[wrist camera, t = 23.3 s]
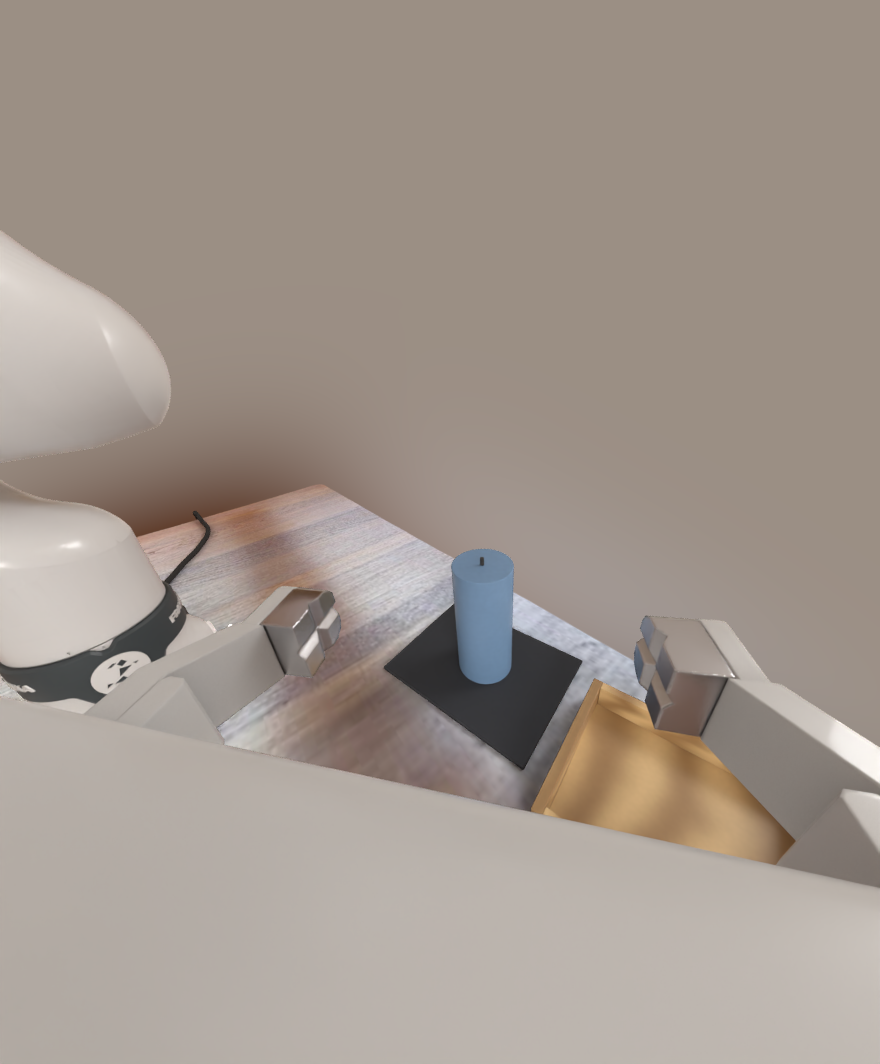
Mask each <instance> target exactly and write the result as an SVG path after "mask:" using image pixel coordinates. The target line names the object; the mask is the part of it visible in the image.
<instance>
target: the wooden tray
mask: <svg viewBox="0 0 880 1064" xmlns="http://www.w3.org/2000/svg"><path fill="white" fill-rule="evenodd" d="M700 738H701V737H697V736H691V735H685V734H680V733H674V732H668V731H662V730H657V729H654V726H653V723H652V720H651V717H650V714H649V711H648V709H647V706H646V703H644V702H642V701H640V700H638V699H636V698H634V697H632V696H630V695H628V694H626V693H624V692H621V691H619V690H617V689H615V688H613V687H611V686H609V685H607V684H605V683H603V682H601V681H599V680H597V679H595V678H594V680H593V682H592V684H591V686H590V688H589V690H588V692H587V694H586V696H585V698H584V700H583V702H582V705H581V707H580V709H579V711H578V713H577V715H576V717H575V719H574V721H573V723H572V725H571V727H570V729H569V731H568V733H567V735H566V737H565V739H564V741H563V744H562V746H561V748H560V750H559V752H558V754H557V756H556V758H555V760H554V762H553V764H552V766H551V768H550V770H549V772H548V774H547V776H546V778H545V780H544V783H543V785H542V787H541V789H540V791H539V793H538V795H537V797H536V799H535V801H534V803H533V805H532V807H531V812H534V813H538V814H543V815H548V816H552V817H557V818H561V819H566V820H570V821H575V822H580V823H584V824H589V825H593V826H598V827H602V828H607V829H611V830H616V831H621V832H625V833H630V834H634V835H639V836H644V837H648V838H653V839H657V840H662V841H666V842H671V843H676V844H680V845H685V846H689V847H694V848H699V849H703V850H708V851H712V852H717V853H722V854H726V855H731V856H735V857H740V858H745V859H749V860H754V861H758V862H763V863H768V864H772V865H776V864H777V863H778V861H779V860H780V858H781V857H782V856H783V855H784V854H785V853H786V852H787V851H788V849H789V848H790V847H791V846H792V845H793V844H794V843H795V842H796V840H795V839H794V838H793V837H792V836H791V835H790V834H789V833H788V832H787V831H786V830H785V829H784V828H783V827H782V826H781V825H780V823H779V822H778V821H777V820H776V819H775V818H774V817H773V816H772V815H771V814H770V813H769V812H768V811H767V810H766V809H765V808H764V806H763V805H762V804H761V803H760V802H759V801H758V800H757V799H756V798H755V797H754V796H753V795H752V794H751V793H750V792H749V791H748V790H747V788H746V787H745V786H744V785H743V784H742V783H741V782H740V781H739V780H738V779H737V778H736V777H735V776H734V775H733V774H732V773H731V771H730V770H729V769H728V768H727V767H726V766H725V765H724V764H723V763H722V762H721V761H720V760H719V759H718V758H717V757H716V756H715V754H714V753H713V752H712V751H711V750H710V749H709V748H708V747H707V746H706V745H705V744H704V743H703V742H702V741H701V740H700Z"/></svg>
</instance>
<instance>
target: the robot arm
mask: <svg viewBox="0 0 880 1064" xmlns="http://www.w3.org/2000/svg"><path fill="white" fill-rule="evenodd" d="M170 398H171V384H170V377H169V373H168V369H167V366H166V363H165V361H164V359H163V356H162V354H161V352H160V351H159V349H158V347H157V346H156V344H155V342H154V341H153V340H152V338H151V337H150V335H149V334H148V333H147V332H146V330H145V329H144V328H143V327H142V326H141V325H140V324H139V323H138V322H137V321H136V320H135V319H134V318H133V317H132V316H131V315H130V314H129V313H128V312H127V311H126V310H124V309H123V308H122V307H121V306H120V305H118V304H117V303H116V302H114V301H113V300H111V299H110V298H108V297H107V296H106V295H104V294H102V293H101V292H99V291H98V290H96V289H94V288H93V287H90V286H88V285H87V284H85V283H83V282H81V281H79V280H77V279H75V278H73V277H71V276H69V275H68V274H66V273H64V272H62V271H60V270H59V269H57V268H55V267H54V266H52V265H50V264H49V263H47V262H45V261H44V260H42V259H41V258H39V257H38V256H36V255H35V254H33V253H32V252H30V251H29V250H27V249H26V248H24V247H23V246H21V245H20V244H19V243H17V242H16V241H15V240H13V239H12V238H10V237H9V236H8V235H7V234H5V233H4V232H2V231H1V230H0V463H1V462H7V461H14V460H20V459H27V458H33V457H38V456H45V455H52V454H59V453H65V452H71V451H78V450H84V449H91V448H96V447H99V446H102V445H106V444H109V443H112V442H115V441H118V440H121V439H124V438H127V437H130V436H133V435H136V434H139V433H141V432H144V431H147V430H150V429H153V428H155V427H158V426H159V425H160V423H161V422H162V420H163V419H164V417H165V415H166V413H167V410H168V407H169V404H170ZM193 514H194V516H195V518H196V520H199V521H200V523H201V524H202V525H203V526H204V527H205V528H206V533H205V536H204V537H203V539H202V540H201V541H200V543H199V544H198V545H197V547H196V548H195V549H194V550H193V551H192V552H191V553H190V554H189V555H188V556H187V557H186V558H185V559H184V560H183V561H182V562H181V563H180V564H179V565H178V566H177V568H176V569H175V570H174V571H173V572H172V573H171V574H170V575H169V577H168V578H167V579H166V580H165V581H164V582H163V581H161V579H160V577H159V576H158V574H157V572H156V571H155V569H154V567H153V565H152V564H151V562H150V560H149V558H148V557H147V555H146V553H145V552H144V550H143V548H142V546H141V545H140V543H139V541H138V540H137V538H136V536H135V534H134V533H133V531H132V529H131V528H130V526H128V524H126V523H125V522H124V521H123V520H121V519H120V518H118V517H117V516H115V515H113V514H111V513H109V512H107V511H105V510H102V509H100V508H97V507H94V506H90V505H86V504H80V503H73V502H64V501H54V500H48V499H44V498H40V497H36V496H33V495H30V494H27V493H25V492H23V491H20V490H18V489H16V488H14V487H12V486H10V485H8V484H6V483H5V482H3V481H2V480H0V675H1V676H2V680H3V681H4V682H5V683H6V684H7V685H8V686H9V687H10V688H12V689H13V690H15V691H17V692H18V693H19V694H20V695H21V696H22V697H23V698H24V699H26V700H27V702H25V701H21V700H16V699H11V698H7V697H2V696H0V1064H880V748H879V747H878V746H876V745H875V744H873V743H872V742H870V741H869V740H867V739H865V738H864V737H862V736H861V735H859V734H858V733H856V732H855V731H853V730H851V729H850V728H848V727H847V726H845V725H844V724H842V723H840V722H839V721H837V720H836V719H834V718H833V717H831V716H830V715H828V714H826V713H825V712H823V711H822V710H820V709H819V708H817V707H815V706H814V705H812V704H810V703H809V702H808V701H806V700H805V699H803V698H801V697H800V696H798V695H797V694H795V693H794V692H792V691H790V690H789V689H787V688H786V687H784V686H783V685H781V684H776V683H771V682H770V681H769V680H768V678H767V677H766V676H765V674H764V673H763V671H762V670H761V669H760V667H759V666H758V665H757V663H756V662H755V660H754V659H753V658H752V656H751V655H750V654H749V652H748V651H747V650H746V648H745V647H744V646H743V644H742V643H741V641H740V640H739V639H738V637H737V636H736V635H735V633H734V632H733V631H732V629H731V628H730V627H729V626H728V624H727V623H725V622H724V621H721V620H704V619H695V620H694V619H684V618H669V617H657V616H645V618H644V619H643V620H642V624H641V627H640V629H641V632H642V634H643V637H644V638H642V639H641V640H639V641H638V642H637V643H636V647H635V652H634V665H635V671H636V675H637V678H638V682H639V684H640V685H641V686H643V687H644V688H645V689H646V690H647V691H648V692H647V695H646V699H645V703H646V706H647V709H648V711H649V714H650V717H651V720H652V723H653V726H654V729H657V730H662V731H668V732H674V733H680V734H685V735H691V736H697V737H701V738H700V740H701V741H702V742H703V743H704V744H705V745H706V746H707V747H708V748H709V749H710V750H711V751H712V752H713V753H714V754H715V756H716V757H717V758H718V759H719V760H720V761H721V762H722V763H723V764H724V765H725V766H726V767H727V768H728V769H729V770H730V771H731V773H732V774H733V775H734V776H735V777H736V778H737V779H738V780H739V781H740V782H741V783H742V784H743V785H744V786H745V787H746V788H747V790H748V791H749V792H750V793H751V794H752V795H753V796H754V797H755V798H756V799H757V800H758V801H759V802H760V803H761V804H762V805H763V806H764V808H765V809H766V810H767V811H768V812H769V813H770V814H771V815H772V816H773V817H774V818H775V819H776V820H777V821H778V822H779V823H780V825H781V826H782V827H783V828H784V829H785V830H786V831H787V832H788V833H789V834H790V835H791V836H792V837H793V838H794V839H795V840H796V842H795V843H794V844H793V845H792V846H791V847H790V848H789V849H788V851H787V852H786V853H785V854H784V855H783V856H782V857H781V858H780V860H779V861H778V863H777V864H776V865H772V864H768V863H763V862H758V861H754V860H749V859H745V858H740V857H735V856H731V855H726V854H722V853H717V852H712V851H708V850H703V849H699V848H694V847H689V846H685V845H680V844H676V843H671V842H666V841H662V840H657V839H653V838H648V837H644V836H639V835H634V834H630V833H625V832H621V831H616V830H611V829H607V828H602V827H598V826H593V825H589V824H584V823H580V822H575V821H570V820H566V819H561V818H557V817H552V816H548V815H543V814H538V813H534V812H529V811H525V810H520V809H516V808H511V807H506V806H502V805H497V804H493V803H488V802H484V801H479V800H474V799H470V798H465V797H461V796H456V795H452V794H447V793H442V792H438V791H433V790H429V789H424V788H419V787H415V786H410V785H406V784H401V783H396V782H392V781H387V780H383V779H378V778H373V777H369V776H364V775H360V774H355V773H350V772H346V771H341V770H337V769H332V768H327V767H323V766H318V765H314V764H309V763H305V762H300V761H295V760H291V759H286V758H282V757H277V756H272V755H268V754H263V753H259V752H254V751H249V750H245V749H240V748H236V747H231V746H226V745H224V739H223V737H222V736H221V734H220V733H219V731H218V730H217V727H218V726H219V725H221V724H222V723H223V722H225V721H226V720H227V719H229V718H230V717H231V716H233V715H234V714H235V713H237V712H238V711H239V710H241V709H242V708H243V707H245V706H246V705H247V704H249V703H250V702H251V701H253V700H254V699H255V698H257V697H258V696H259V695H261V694H262V693H263V692H265V691H266V690H267V689H269V688H270V687H271V686H273V685H274V684H275V683H277V682H278V681H279V680H281V679H282V678H283V677H285V675H293V676H301V677H310V678H313V676H314V675H315V673H316V672H317V670H318V668H319V667H320V665H321V664H322V662H323V661H324V659H325V653H324V651H326V650H327V649H329V648H330V647H332V646H333V645H334V644H335V642H336V640H337V639H338V636H339V633H340V629H341V620H340V616H339V613H338V612H337V611H336V610H335V609H334V608H333V605H334V603H335V599H334V596H333V593H332V592H330V591H328V590H321V589H312V588H302V587H290V586H282V587H279V588H277V589H276V590H275V591H274V592H273V593H272V594H271V595H270V596H269V597H268V598H267V599H266V600H265V601H264V602H263V603H262V604H261V605H260V606H259V607H258V608H257V609H256V610H255V611H254V612H253V613H251V614H250V615H249V616H248V617H247V618H246V619H245V620H244V621H243V622H242V623H235V624H233V625H229V626H228V627H226V628H224V629H222V630H220V631H218V632H217V631H216V630H215V628H214V626H213V625H212V623H211V622H210V621H204V620H203V619H201V618H199V617H196V616H193V615H189V614H188V612H187V610H186V608H185V607H184V606H182V603H181V600H180V598H179V596H178V595H177V594H176V592H175V591H173V589H172V588H171V586H170V585H169V584H170V583H171V581H172V580H173V579H174V578H175V577H176V576H177V575H178V573H179V572H180V571H181V570H182V569H183V567H184V566H185V565H186V564H187V563H188V562H189V561H190V560H191V559H192V558H193V557H194V556H195V555H196V554H197V553H198V552H199V550H200V549H201V548H202V547H203V545H204V544H205V542H206V541H207V539H208V538H209V535H210V527H209V525H208V524H207V523H206V522H205V521H204V520H203V519H202V517H201V516H200V515H199V513H198V512H197V511H194V512H193Z"/></svg>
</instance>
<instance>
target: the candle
mask: <svg viewBox="0 0 880 1064" xmlns="http://www.w3.org/2000/svg"><path fill="white" fill-rule="evenodd" d="M451 569H452V581H453V593H454V606H455V618H456V630H457V643H458V655H459V666H460V669H461V671H462V672H463V674H464V675H465V676H466V677H467V678H468V679H470V680H472V681H474V682H476V683H480V684H493V683H496V682H499V681H501V680H502V679H504V678H505V677H506V676H507V675H508V673H509V672H510V669H511V661H512V618H513V575H514V565H513V562H512V560H511V559H510V558H509V557H508V556H507V555H506V554H504V553H502V552H499V551H496V550H490V549H476V550H470V551H467V552H464V553H462V554H460V555H459V556H457V557H456V558H455V559H454V560H453V562H452V565H451Z"/></svg>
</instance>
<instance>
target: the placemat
mask: <svg viewBox="0 0 880 1064" xmlns="http://www.w3.org/2000/svg"><path fill="white" fill-rule="evenodd" d="M581 663H582V660H580V659H578V658H575V657H573V656H571V655H569V654H567V653H565V652H563V651H560V650H558V649H556V648H554V647H552V646H550V645H547V644H545V643H543V642H541V641H539V640H537V639H535V638H532V637H530V636H528V635H526V634H524V633H522V632H519V631H517V630H515V629H513V628H512V661H511V669H510V672H509V673H508V675H507V676H506V677H505V678H504V679H502V680H501V681H499V682H496V683H493V684H480V683H476V682H474V681H472V680H470V679H468V678H467V677H466V676H465V675H464V674H463V672H462V671H461V669H460V666H459V655H458V643H457V630H456V618H455V606H454V604H453V605H452V606H451V607H450V608H449V609H448V610H447V611H445V612H444V613H443V614H442V615H441V616H440V617H439V618H438V619H437V620H435V621H434V622H433V623H432V624H431V625H430V626H429V627H428V628H426V629H425V630H424V631H423V632H422V633H421V634H420V635H419V636H418V637H416V638H415V639H414V640H413V641H412V642H411V643H410V644H409V645H408V646H406V647H405V648H404V649H403V650H402V651H401V652H400V653H399V654H398V655H396V656H395V657H394V658H393V659H392V660H391V661H390V662H389V663H387V664H386V665H385V666H384V669H386V670H387V671H388V672H390V673H391V674H392V675H394V676H395V677H397V678H398V679H399V680H401V681H402V682H403V683H405V684H406V685H407V686H409V687H410V688H412V689H413V690H414V691H416V692H417V693H418V694H420V695H421V696H423V697H424V698H425V699H427V700H428V701H429V702H431V703H432V704H434V705H435V706H436V707H438V708H439V709H440V710H442V711H443V712H444V713H446V714H447V715H449V716H450V717H451V718H453V719H454V720H455V721H457V722H458V723H460V724H461V725H462V726H464V727H465V728H466V729H468V730H469V731H471V732H472V733H473V734H475V735H476V736H477V737H479V738H480V739H482V740H483V741H484V742H486V743H487V744H488V745H490V746H491V747H492V748H494V749H495V750H497V751H498V752H499V753H501V754H502V755H503V756H505V757H506V758H508V759H509V760H510V761H512V762H513V763H514V764H516V765H517V766H519V767H520V768H521V769H524V768H525V766H526V764H527V762H528V760H529V759H530V757H531V755H532V753H533V751H534V749H535V748H536V746H537V744H538V742H539V740H540V738H541V737H542V735H543V733H544V731H545V729H546V727H547V726H548V724H549V722H550V720H551V718H552V716H553V715H554V713H555V711H556V709H557V707H558V705H559V704H560V702H561V700H562V698H563V696H564V694H565V693H566V691H567V689H568V687H569V685H570V683H571V682H572V680H573V678H574V676H575V674H576V673H577V671H578V669H579V667H580V665H581Z"/></svg>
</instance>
